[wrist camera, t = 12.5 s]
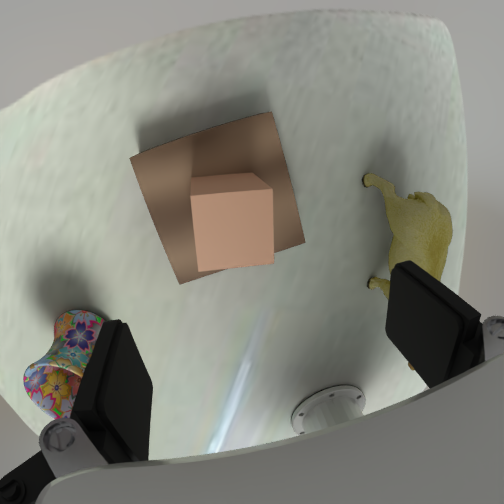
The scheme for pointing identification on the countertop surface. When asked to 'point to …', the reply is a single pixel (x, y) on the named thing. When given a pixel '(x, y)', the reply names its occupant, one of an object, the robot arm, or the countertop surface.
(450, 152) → the countertop surface
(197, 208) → the terracotta block
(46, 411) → the mug
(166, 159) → the walnut box
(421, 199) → the toy
